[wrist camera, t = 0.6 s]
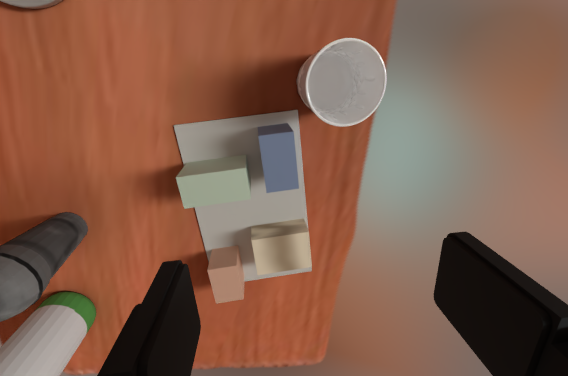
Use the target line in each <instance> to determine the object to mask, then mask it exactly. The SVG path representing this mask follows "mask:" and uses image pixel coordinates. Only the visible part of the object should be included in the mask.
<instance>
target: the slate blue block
mask: <svg viewBox="0 0 568 376" xmlns="http://www.w3.org/2000/svg"><path fill="white" fill-rule="evenodd" d="M257 128H258V137H259V144H260V151H261V158H262V165H263V172H264V179H265V186H266V193H271V192H278V191H285V190H292V189H299V182H298V171H297V161H296V150H295V140H294V131H293V130H292V128H291V127H290V126H289V124H288V123H283V124H276V125H268V126H260V127H257Z"/></svg>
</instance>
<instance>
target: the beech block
mask: <svg viewBox="0 0 568 376" xmlns="http://www.w3.org/2000/svg"><path fill="white" fill-rule="evenodd" d="M251 241H252V247H253V252H254V258H255V263H256V269H257V275H264V274H270V273H276V272H283V271H289V270H295V269H302V268H308V267H312V263H311V252H310V240H309V231H308V228H307V226H306V223H305V220H304V218H302V219H295V220H289V221H282V222H275V223H268V224H262V225H255V226H251Z"/></svg>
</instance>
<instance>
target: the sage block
mask: <svg viewBox="0 0 568 376" xmlns="http://www.w3.org/2000/svg"><path fill="white" fill-rule="evenodd" d="M176 180H177V184H178V188H179V191H180V195H181V199H182V202H183V206H184V209H185V208H192V207H200V206H207V205H214V204H221V203H228V202H235V201H242V200H249V199H251V179H250V173H249V167H248V161H247V155H239V156H232V157H224V158H217V159H209V160H202V161H194V162H187V163H186V164H185V166H184V167H183V168H182V170H181V171H180V172H179V174H178V175H177V176H176Z"/></svg>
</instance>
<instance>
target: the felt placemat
mask: <svg viewBox="0 0 568 376" xmlns="http://www.w3.org/2000/svg"><path fill="white" fill-rule="evenodd" d="M283 123H288V124H289V126H290V127H291V128H292V130H293V131H294V140H295V150H296V161H297V171H298V182H299V189H292V190H285V191H278V192H271V193H266V186H265V179H264V172H263V165H262V158H261V151H260V144H259V137H258V128H257V127H260V126H268V125H276V124H283ZM174 129H175V133H176V137H177V141H178V145H179V148H180V152H181V156H182V160H183V164H184V166H185V164H186V163H187V162H194V161H202V160H209V159H217V158H224V157H232V156H239V155H247V161H248V167H249V173H250V179H251V199H249V200H242V201H235V202H228V203H221V204H214V205H207V206H200V207H195V211H196V215H197V219H198V222H199V226H200V230H201V234H202V238H203V242H204V246H205V250H206V254H207V258H208V261H210V256H211V252H212V249H217V248H223V247H230V246H237V245H238V247H239V251H240V256H241V261H242V266H243V271H244V276H245V277H244V281H251V280H257V279H263V278H270V277H276V276H282V275H289V274H295V273H301V272H308V271H312V268H311V267H308V268H302V269H295V270H289V271H283V272H276V273H270V274H264V275H257V269H256V263H255V258H254V252H253V247H252V241H251V226H255V225H262V224H268V223H275V222H282V221H289V220H295V219H302V218H304V220H305V223H306V226H307V228H308V222H307V211H306V199H305V188H304V176H303V165H302V153H301V142H300V130H299V119H298V110H292V111H284V112H276V113H268V114H260V115H252V116H244V117H236V118H228V119H220V120H212V121H204V122H196V123H188V124H180V125H174Z"/></svg>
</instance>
